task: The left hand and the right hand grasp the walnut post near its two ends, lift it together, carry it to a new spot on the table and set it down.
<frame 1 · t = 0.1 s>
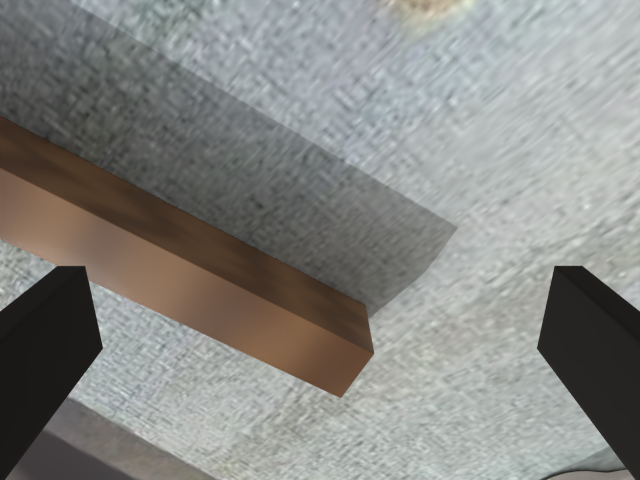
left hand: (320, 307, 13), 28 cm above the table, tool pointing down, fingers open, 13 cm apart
post: (44, 170, 40), on the table
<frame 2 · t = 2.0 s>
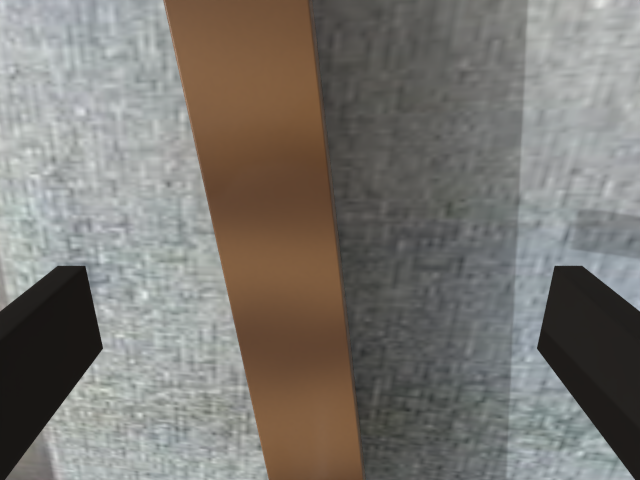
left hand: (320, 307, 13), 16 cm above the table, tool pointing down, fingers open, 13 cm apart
post: (320, 400, 34), on the table
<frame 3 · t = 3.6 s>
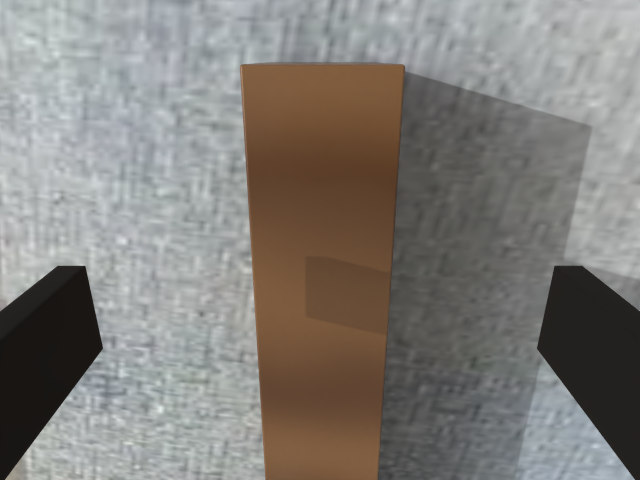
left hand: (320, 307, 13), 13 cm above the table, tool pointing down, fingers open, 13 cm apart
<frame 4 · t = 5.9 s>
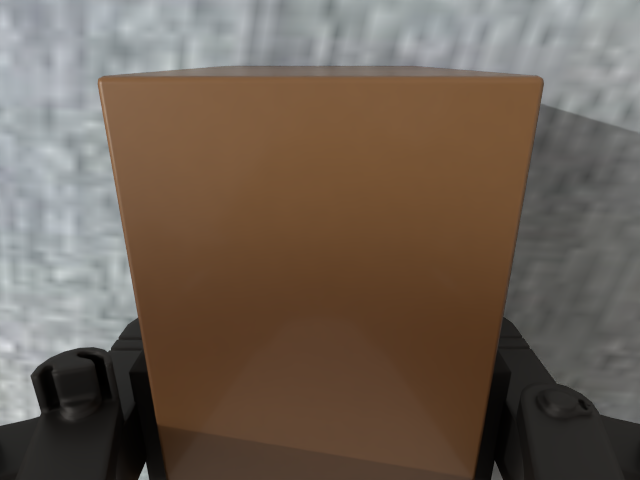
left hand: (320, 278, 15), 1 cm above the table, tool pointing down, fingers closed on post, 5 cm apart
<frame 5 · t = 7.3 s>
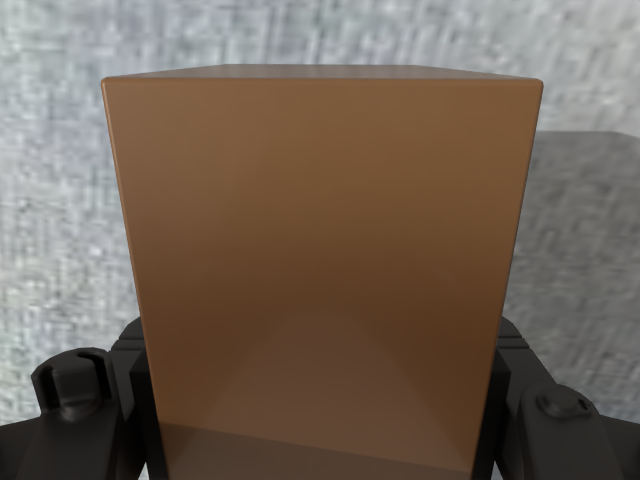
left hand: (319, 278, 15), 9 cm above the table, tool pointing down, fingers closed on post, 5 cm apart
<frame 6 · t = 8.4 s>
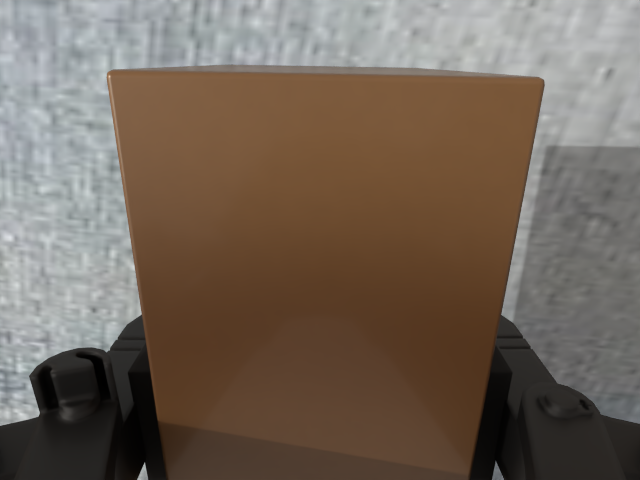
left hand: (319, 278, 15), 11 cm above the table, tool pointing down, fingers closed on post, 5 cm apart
when the left hand's fingers open (2 cm above the table, at t = 11.0 s): post drops 2 cm, held by the right hand.
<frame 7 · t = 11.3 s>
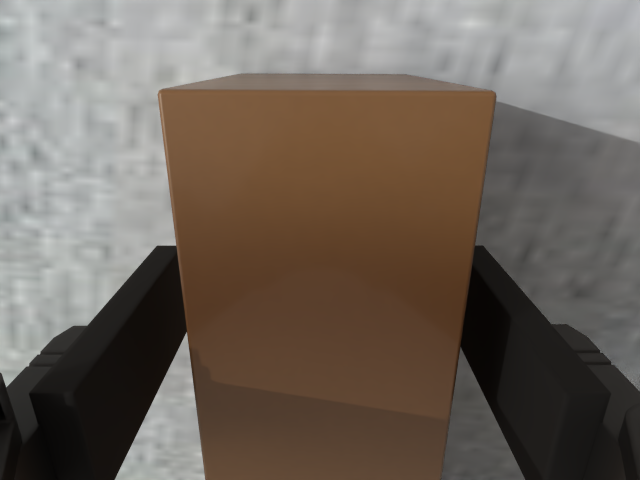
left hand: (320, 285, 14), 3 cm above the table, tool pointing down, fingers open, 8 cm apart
when the right hand's fingers open (4 cm above the table, at t = 11.3 s): post stays where it is, on the table.
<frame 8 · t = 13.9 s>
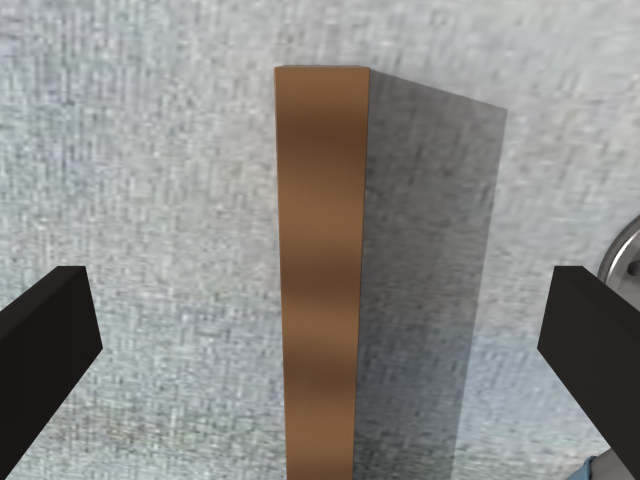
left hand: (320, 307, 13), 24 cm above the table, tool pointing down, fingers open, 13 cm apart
post: (319, 409, 45), on the table
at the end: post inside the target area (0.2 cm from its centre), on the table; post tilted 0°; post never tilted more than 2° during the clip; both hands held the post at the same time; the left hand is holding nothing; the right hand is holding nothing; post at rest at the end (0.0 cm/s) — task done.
